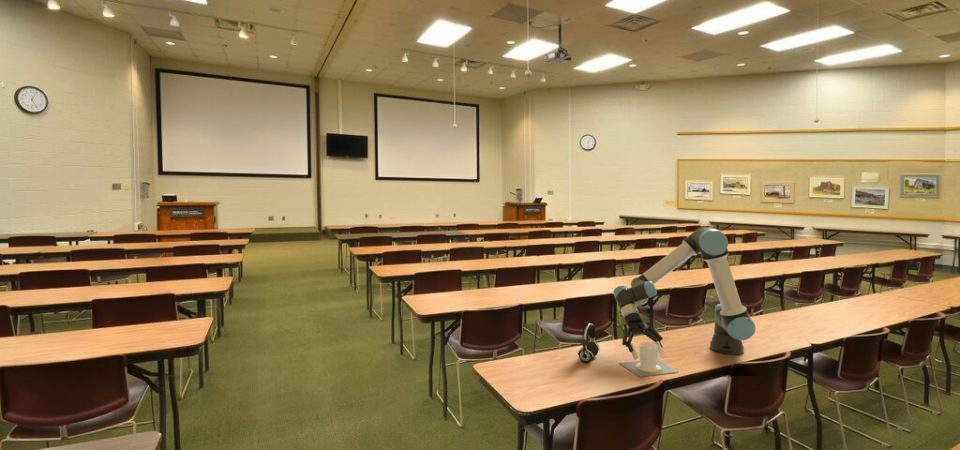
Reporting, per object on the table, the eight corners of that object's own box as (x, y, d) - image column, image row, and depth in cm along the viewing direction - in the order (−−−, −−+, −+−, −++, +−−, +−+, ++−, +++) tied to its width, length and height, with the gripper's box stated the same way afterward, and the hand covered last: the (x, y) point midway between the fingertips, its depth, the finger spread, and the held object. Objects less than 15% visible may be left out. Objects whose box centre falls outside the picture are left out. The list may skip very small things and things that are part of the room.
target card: (656, 359, 218) (656, 358, 218) (678, 372, 203) (678, 371, 203) (619, 363, 213) (619, 362, 213) (639, 377, 198) (639, 376, 198)
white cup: (658, 370, 203) (659, 349, 203) (640, 369, 205) (640, 347, 204) (655, 364, 211) (656, 343, 210) (637, 363, 213) (638, 342, 212)
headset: (591, 366, 210) (591, 325, 208) (575, 363, 213) (575, 322, 212) (600, 355, 224) (601, 316, 223) (585, 352, 228) (586, 314, 226)
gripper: (650, 317, 226) (669, 357, 213) (605, 321, 220) (621, 363, 206) (657, 309, 220) (677, 350, 207) (611, 313, 214) (628, 355, 201)
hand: (649, 356), depth 207 cm, fingers open, 13 cm apart
